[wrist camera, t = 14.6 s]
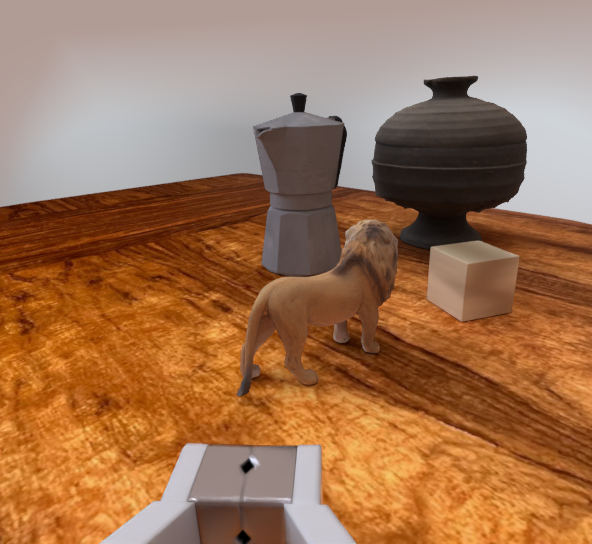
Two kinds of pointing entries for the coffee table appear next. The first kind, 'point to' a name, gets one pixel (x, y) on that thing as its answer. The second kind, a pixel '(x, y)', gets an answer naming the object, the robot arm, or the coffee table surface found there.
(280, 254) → the coffeepot
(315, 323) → the lion figurine
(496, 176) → the pot
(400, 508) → the coffee table surface
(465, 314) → the beige block
